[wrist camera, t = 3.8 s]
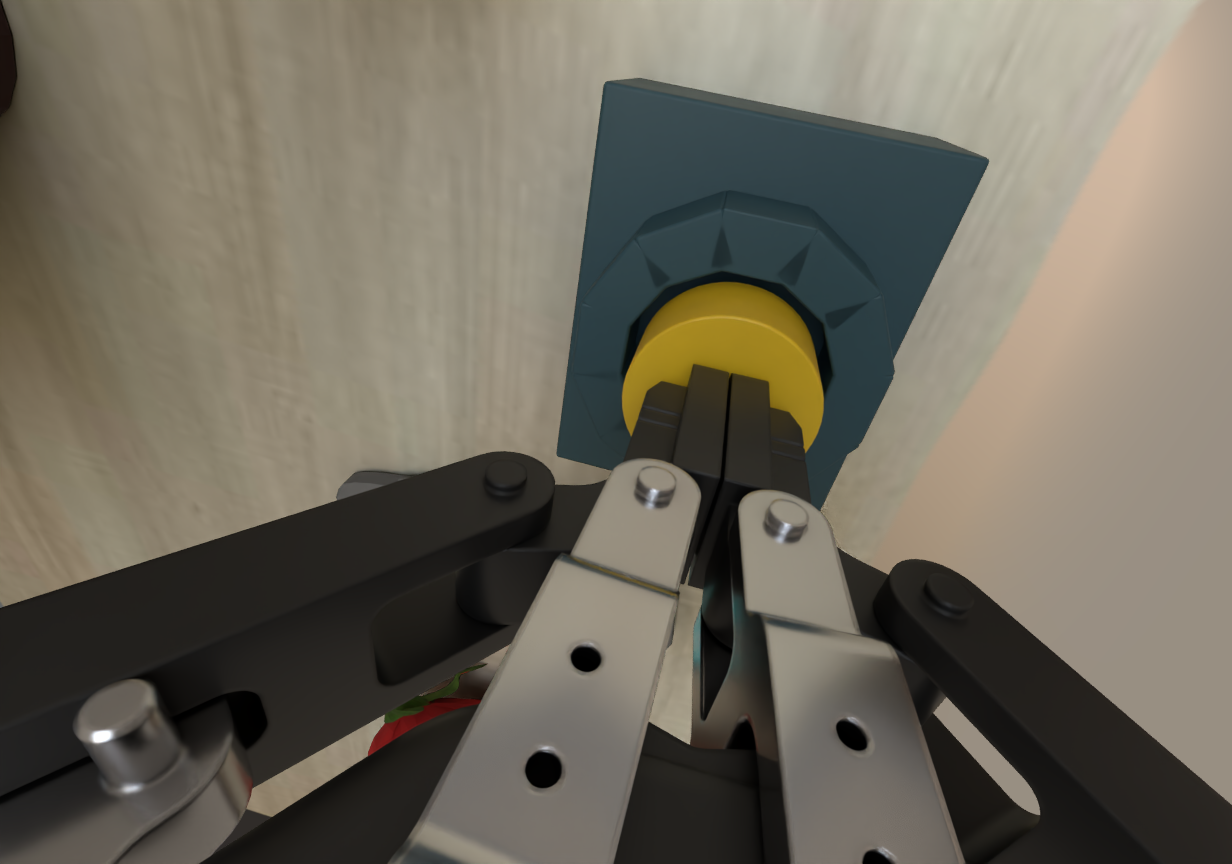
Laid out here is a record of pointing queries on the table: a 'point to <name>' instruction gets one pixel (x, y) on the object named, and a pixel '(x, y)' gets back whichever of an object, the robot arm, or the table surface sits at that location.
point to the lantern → (6, 64)
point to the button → (730, 349)
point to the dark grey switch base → (756, 245)
